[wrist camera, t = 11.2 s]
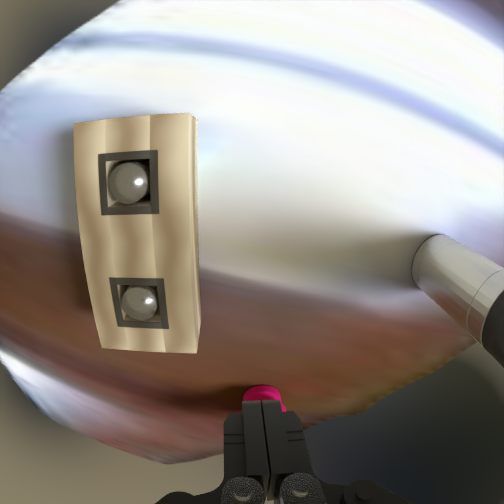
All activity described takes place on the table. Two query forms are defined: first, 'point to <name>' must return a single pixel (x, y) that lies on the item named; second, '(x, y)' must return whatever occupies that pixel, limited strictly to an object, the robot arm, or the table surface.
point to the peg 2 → (140, 301)
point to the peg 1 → (130, 181)
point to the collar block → (141, 229)
